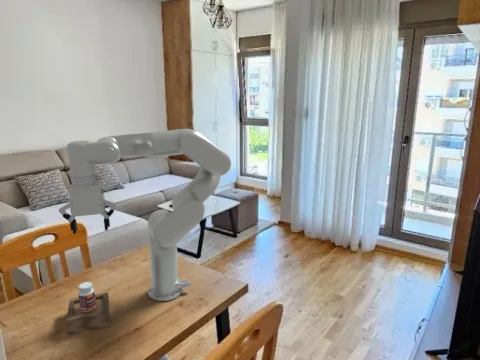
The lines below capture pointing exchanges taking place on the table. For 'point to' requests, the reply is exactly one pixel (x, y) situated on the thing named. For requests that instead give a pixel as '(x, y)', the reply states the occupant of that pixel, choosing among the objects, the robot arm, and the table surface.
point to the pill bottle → (86, 297)
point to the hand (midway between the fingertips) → (91, 230)
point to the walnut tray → (88, 315)
